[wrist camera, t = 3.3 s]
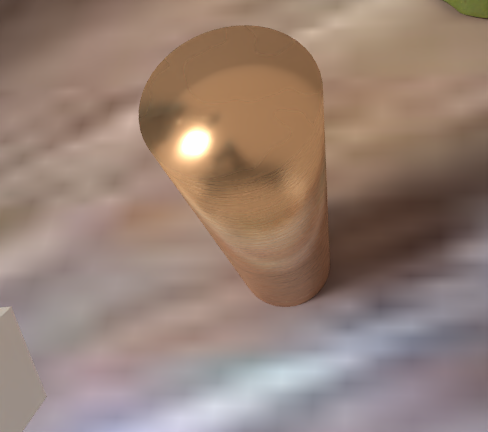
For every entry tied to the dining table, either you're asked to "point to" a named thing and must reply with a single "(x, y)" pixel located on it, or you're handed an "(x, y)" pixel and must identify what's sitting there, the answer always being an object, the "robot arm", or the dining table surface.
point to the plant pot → (471, 7)
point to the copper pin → (247, 153)
